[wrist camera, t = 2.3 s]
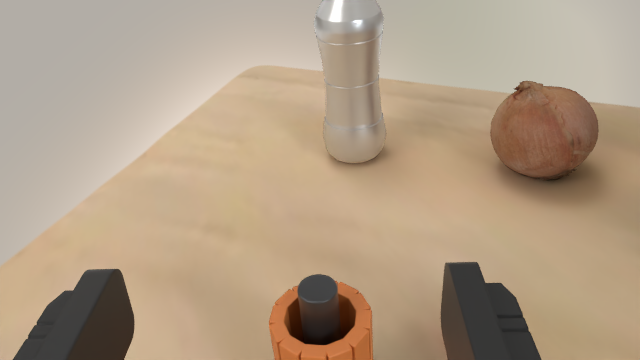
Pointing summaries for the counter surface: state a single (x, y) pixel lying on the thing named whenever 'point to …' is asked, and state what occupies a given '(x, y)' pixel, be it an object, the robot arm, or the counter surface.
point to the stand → (319, 310)
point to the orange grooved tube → (340, 356)
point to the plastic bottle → (351, 77)
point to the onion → (544, 130)
